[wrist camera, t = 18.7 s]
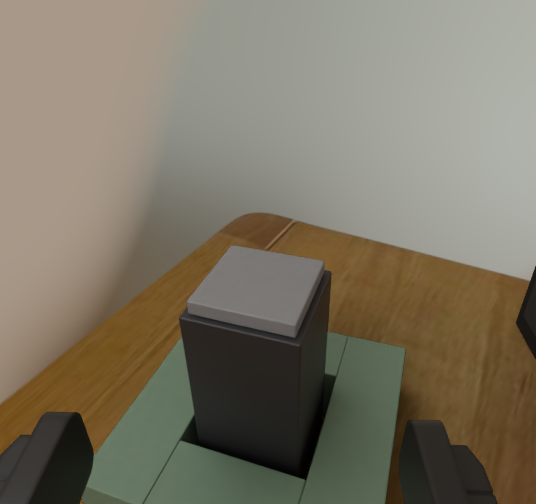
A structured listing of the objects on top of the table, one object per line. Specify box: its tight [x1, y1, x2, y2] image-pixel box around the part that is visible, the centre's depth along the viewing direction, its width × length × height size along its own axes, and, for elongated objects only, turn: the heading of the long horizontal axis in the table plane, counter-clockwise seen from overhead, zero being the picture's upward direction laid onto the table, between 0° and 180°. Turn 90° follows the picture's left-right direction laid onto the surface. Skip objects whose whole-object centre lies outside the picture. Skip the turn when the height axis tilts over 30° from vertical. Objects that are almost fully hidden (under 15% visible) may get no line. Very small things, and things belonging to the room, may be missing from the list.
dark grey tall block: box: [179, 245, 331, 479], centre depth 20 cm, size 4×4×10 cm
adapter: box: [82, 332, 406, 504], centre depth 21 cm, size 12×12×3 cm
